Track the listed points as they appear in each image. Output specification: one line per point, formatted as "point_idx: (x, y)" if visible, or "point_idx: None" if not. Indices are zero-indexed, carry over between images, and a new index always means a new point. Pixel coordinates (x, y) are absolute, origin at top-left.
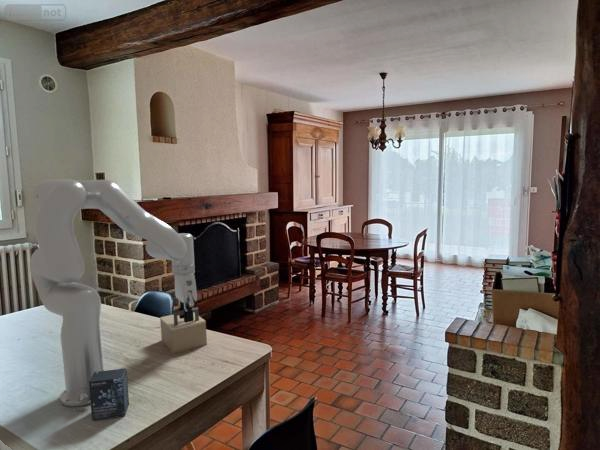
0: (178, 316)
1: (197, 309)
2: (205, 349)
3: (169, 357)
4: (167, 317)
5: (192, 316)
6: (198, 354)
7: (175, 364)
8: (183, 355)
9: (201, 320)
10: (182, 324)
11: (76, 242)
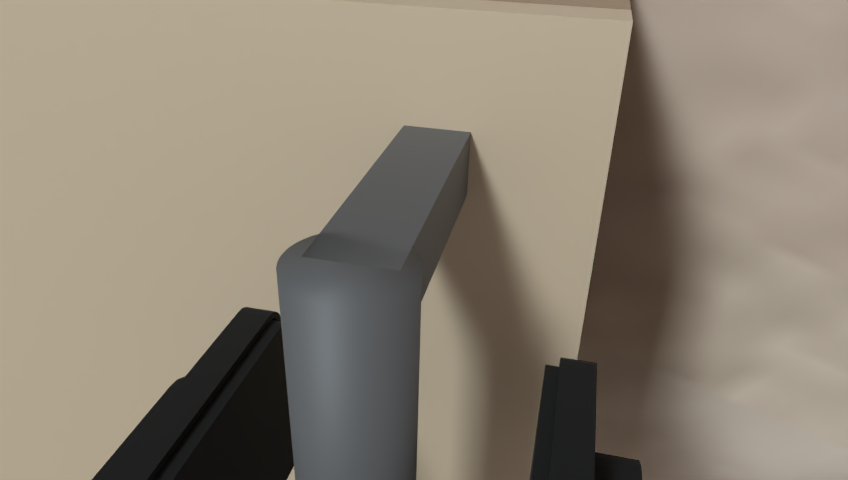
0: (32, 307)
1: (414, 316)
2: (755, 41)
3: (613, 409)
4: (13, 427)
5: (594, 453)
6: (817, 181)
7: (820, 445)
8: (685, 307)
9: (523, 90)
10: (467, 444)
11: None
